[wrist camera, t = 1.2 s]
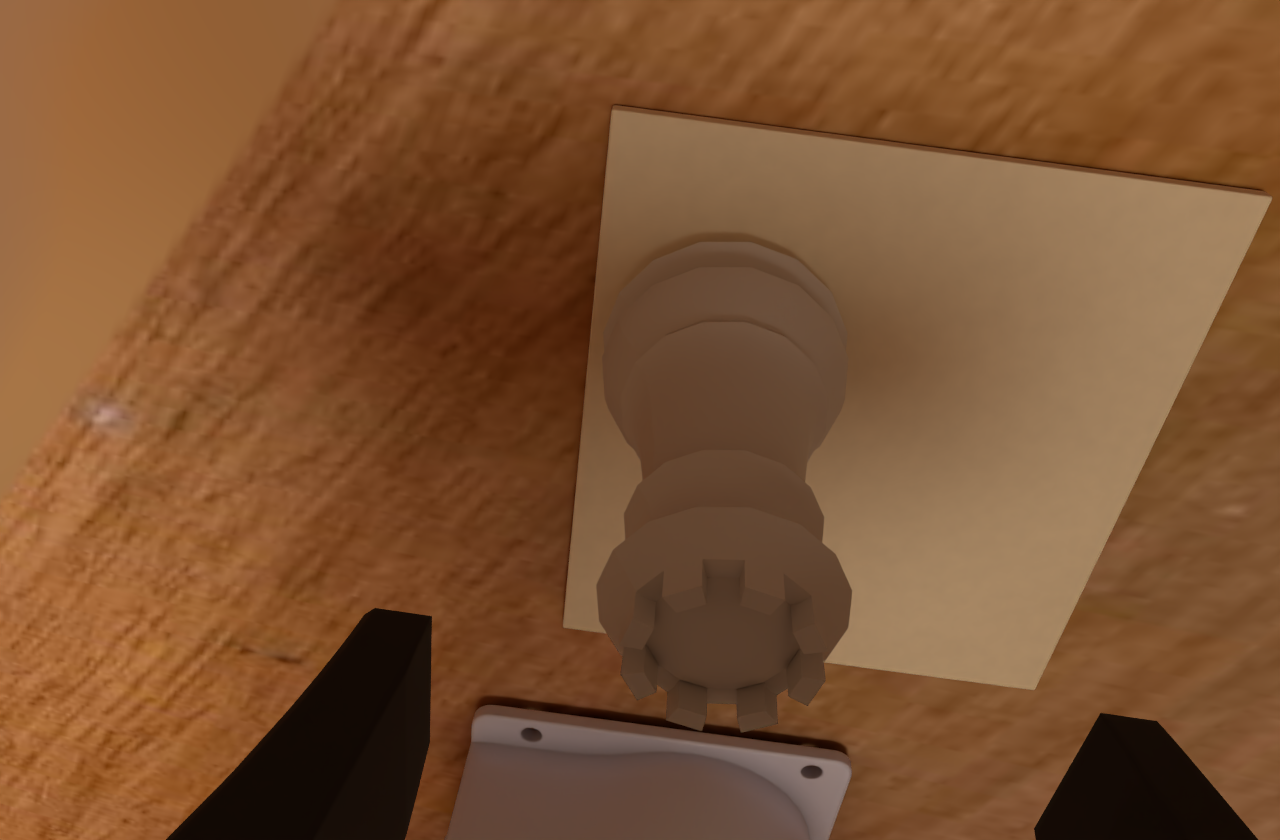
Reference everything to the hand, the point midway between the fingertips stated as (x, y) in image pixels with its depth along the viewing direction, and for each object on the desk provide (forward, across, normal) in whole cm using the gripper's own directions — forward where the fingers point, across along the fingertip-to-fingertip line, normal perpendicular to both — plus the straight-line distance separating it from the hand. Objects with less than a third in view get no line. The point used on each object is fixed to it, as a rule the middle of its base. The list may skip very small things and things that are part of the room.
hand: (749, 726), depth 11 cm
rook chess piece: (+9, 0, 0) cm, 9 cm away
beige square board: (+9, -3, +2) cm, 10 cm away
